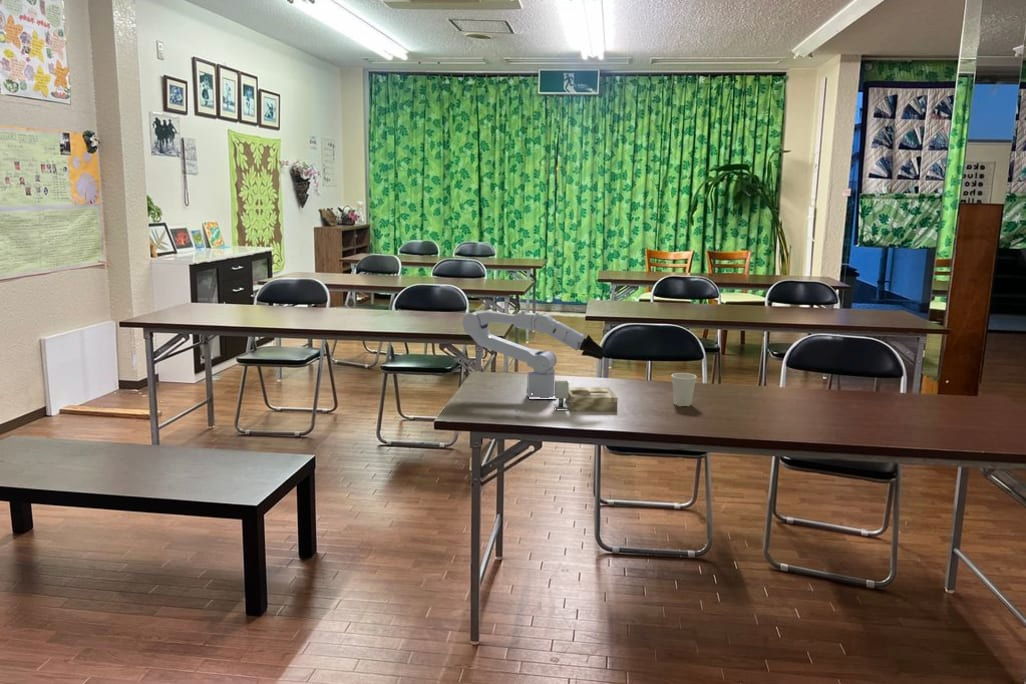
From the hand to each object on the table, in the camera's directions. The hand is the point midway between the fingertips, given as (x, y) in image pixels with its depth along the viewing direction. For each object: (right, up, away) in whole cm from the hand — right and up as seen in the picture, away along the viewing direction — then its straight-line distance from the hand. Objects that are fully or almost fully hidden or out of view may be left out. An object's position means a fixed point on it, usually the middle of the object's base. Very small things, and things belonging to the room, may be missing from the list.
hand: (602, 354), depth 259 cm
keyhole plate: (-4, -17, 0) cm, 17 cm away
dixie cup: (+27, -17, +3) cm, 32 cm away
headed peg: (-14, -18, -5) cm, 23 cm away
